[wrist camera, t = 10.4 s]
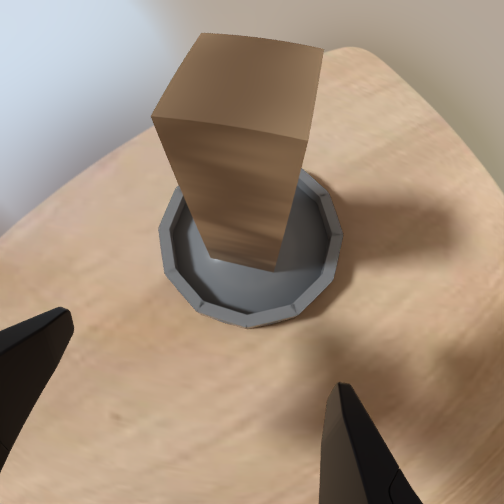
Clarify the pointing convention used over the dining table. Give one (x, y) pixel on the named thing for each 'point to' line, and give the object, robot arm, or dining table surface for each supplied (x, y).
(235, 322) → the dish
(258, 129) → the walnut post
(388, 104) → the dining table surface
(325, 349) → the dining table surface
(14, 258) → the dining table surface
